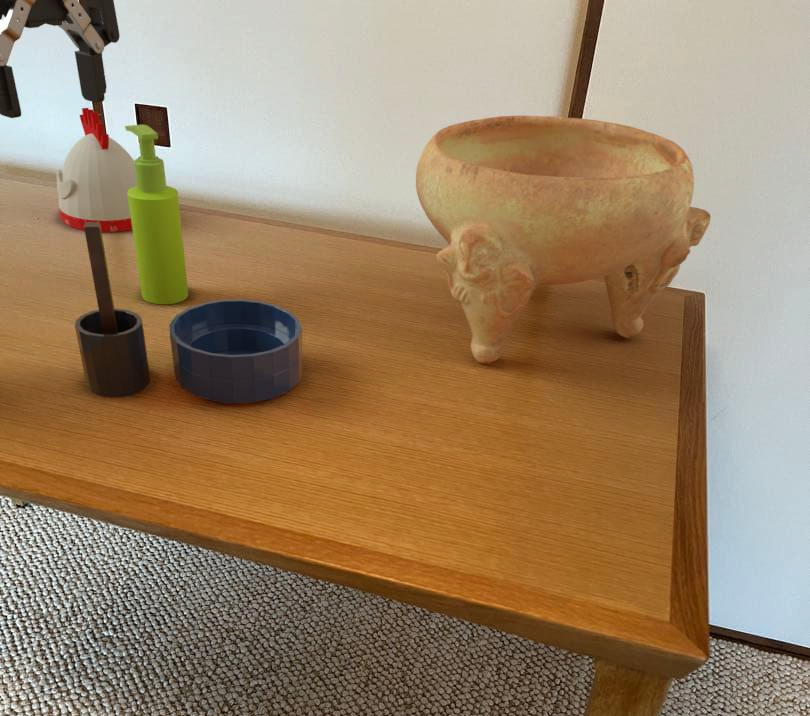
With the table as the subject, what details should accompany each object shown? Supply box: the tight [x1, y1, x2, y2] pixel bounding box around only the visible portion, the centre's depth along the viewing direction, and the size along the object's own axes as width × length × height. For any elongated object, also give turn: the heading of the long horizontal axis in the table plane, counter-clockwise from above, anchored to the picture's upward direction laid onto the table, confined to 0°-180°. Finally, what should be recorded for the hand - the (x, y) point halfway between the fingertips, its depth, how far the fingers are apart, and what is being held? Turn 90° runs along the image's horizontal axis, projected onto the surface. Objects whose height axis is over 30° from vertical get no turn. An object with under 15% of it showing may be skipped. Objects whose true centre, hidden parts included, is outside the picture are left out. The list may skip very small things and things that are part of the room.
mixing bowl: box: [169, 298, 303, 404], centre depth 90 cm, size 14×14×6 cm
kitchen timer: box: [55, 107, 137, 233], centre depth 123 cm, size 14×14×15 cm
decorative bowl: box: [415, 115, 711, 365], centre depth 101 cm, size 34×35×23 cm
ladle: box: [83, 222, 118, 334], centre depth 83 cm, size 4×4×16 cm
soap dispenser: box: [124, 124, 189, 306], centre depth 101 cm, size 6×7×20 cm
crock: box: [74, 307, 151, 398], centre depth 87 cm, size 7×7×7 cm
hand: (53, 108), depth 70 cm, fingers open, 8 cm apart
